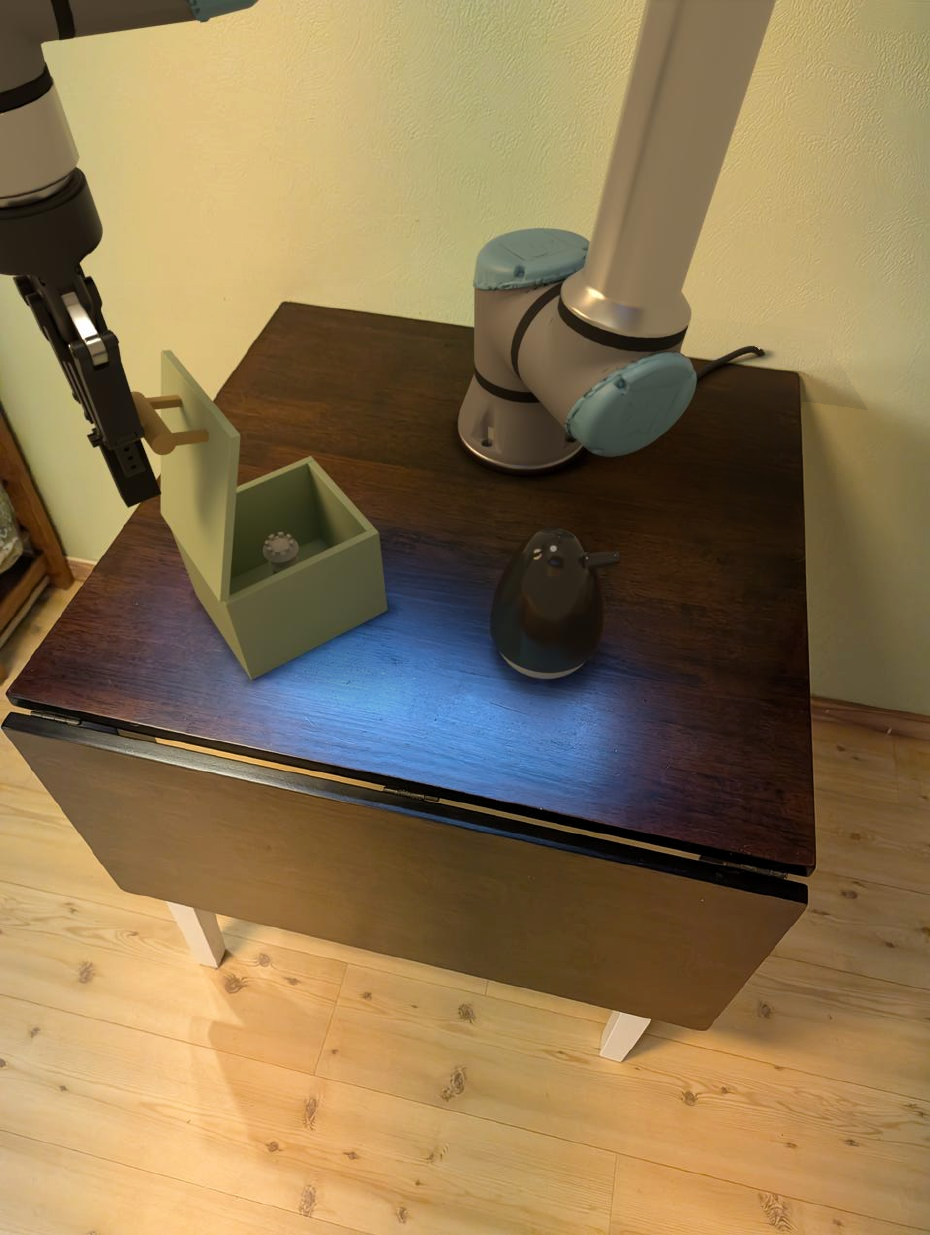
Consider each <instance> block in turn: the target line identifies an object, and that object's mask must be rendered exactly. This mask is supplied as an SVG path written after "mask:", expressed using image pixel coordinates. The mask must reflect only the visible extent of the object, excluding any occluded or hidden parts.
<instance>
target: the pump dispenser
mask: <svg viewBox="0 0 930 1235" xmlns="http://www.w3.org/2000/svg"><path fill="white" fill-rule="evenodd" d="M620 562H621V553H620V552H619V551H618V550H612V551H594V552H592V551H591V552H590V550H589V549H588V547H587V546H586V544H585V542H584V541H582V540H581V538H580V537H579V536H578V535H577V534H575V533H574V532H572V531H571V530H569V529H567V528H564V527H557V526H550V527H545V528H541V529H539V530H537V531H536V532H534V533H532V534H531V535H530V536H529V537H527V538H526V539H525V540H524V541H523V542H522V543H521V545H520V546H519V547H518V548H517V549H516V551H515V552H514V554H513V555H512V557H511V558H510V560H509V561H508V563H507V564H506V566H505V567H504V569H503V572H502V574H501V576H500V579H499V581H498V583H497V586H496V590H495V593H494V596H493V601H492V605H491V608H490V615H489V631H490V636H491V639H492V642H493V644H494V646H495V647H496V649H497V650H498V651H499V654H500V655H501V656H502V658H503V659H504V660H505V661H506V663H507V664H508V665H510V666H511V668H513V669H515V671H517V672H519V673H521V674H523V675H525V676H526V677H527V676H528V677H531V678H534V679H541V680H553V679H557V678H562V677H566V676H568V675H570V674H572V673H573V672H575V671H577V670H578V669H580V668H581V667H582V666H583V665H584V664H586V662H587V661H588V660H590V659H591V658H592V657H593V656H594V654H595V653H596V652H597V650H598V649H599V646H600V644H601V641H602V638H603V633H604V626H605V625H604V624H605V603H604V594H603V587H602V582H601V578H600V575H599V572H598V569H602V568H606V567H611V566H616V565H619V564H620Z"/></svg>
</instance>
